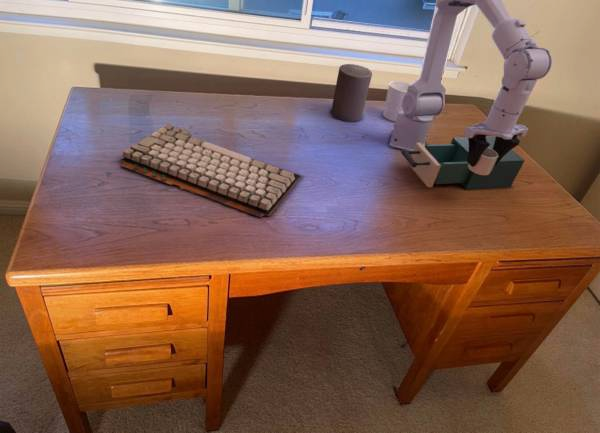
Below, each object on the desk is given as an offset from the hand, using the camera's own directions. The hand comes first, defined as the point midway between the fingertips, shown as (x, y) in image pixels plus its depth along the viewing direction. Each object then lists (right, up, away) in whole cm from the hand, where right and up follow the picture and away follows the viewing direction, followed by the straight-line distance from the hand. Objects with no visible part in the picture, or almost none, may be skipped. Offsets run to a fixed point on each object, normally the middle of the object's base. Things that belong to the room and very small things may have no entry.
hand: (481, 163), depth 98 cm
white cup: (-12, +19, +37) cm, 43 cm away
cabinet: (+5, -1, +15) cm, 16 cm away
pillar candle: (-27, +19, +34) cm, 47 cm away
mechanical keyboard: (-61, -2, +1) cm, 62 cm away
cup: (0, -1, +1) cm, 1 cm away
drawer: (-8, -1, +11) cm, 14 cm away
